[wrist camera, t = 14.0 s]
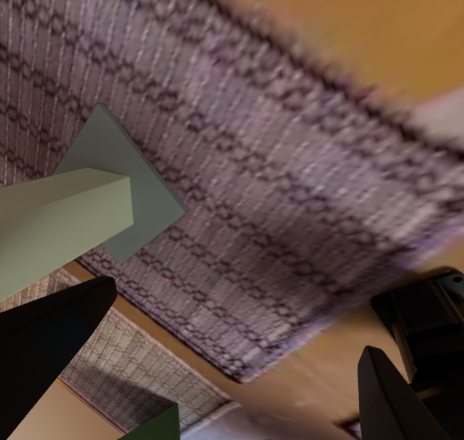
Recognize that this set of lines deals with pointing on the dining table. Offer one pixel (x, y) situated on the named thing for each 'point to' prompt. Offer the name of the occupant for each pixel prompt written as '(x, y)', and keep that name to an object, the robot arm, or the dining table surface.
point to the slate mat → (128, 164)
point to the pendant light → (158, 427)
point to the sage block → (58, 222)
